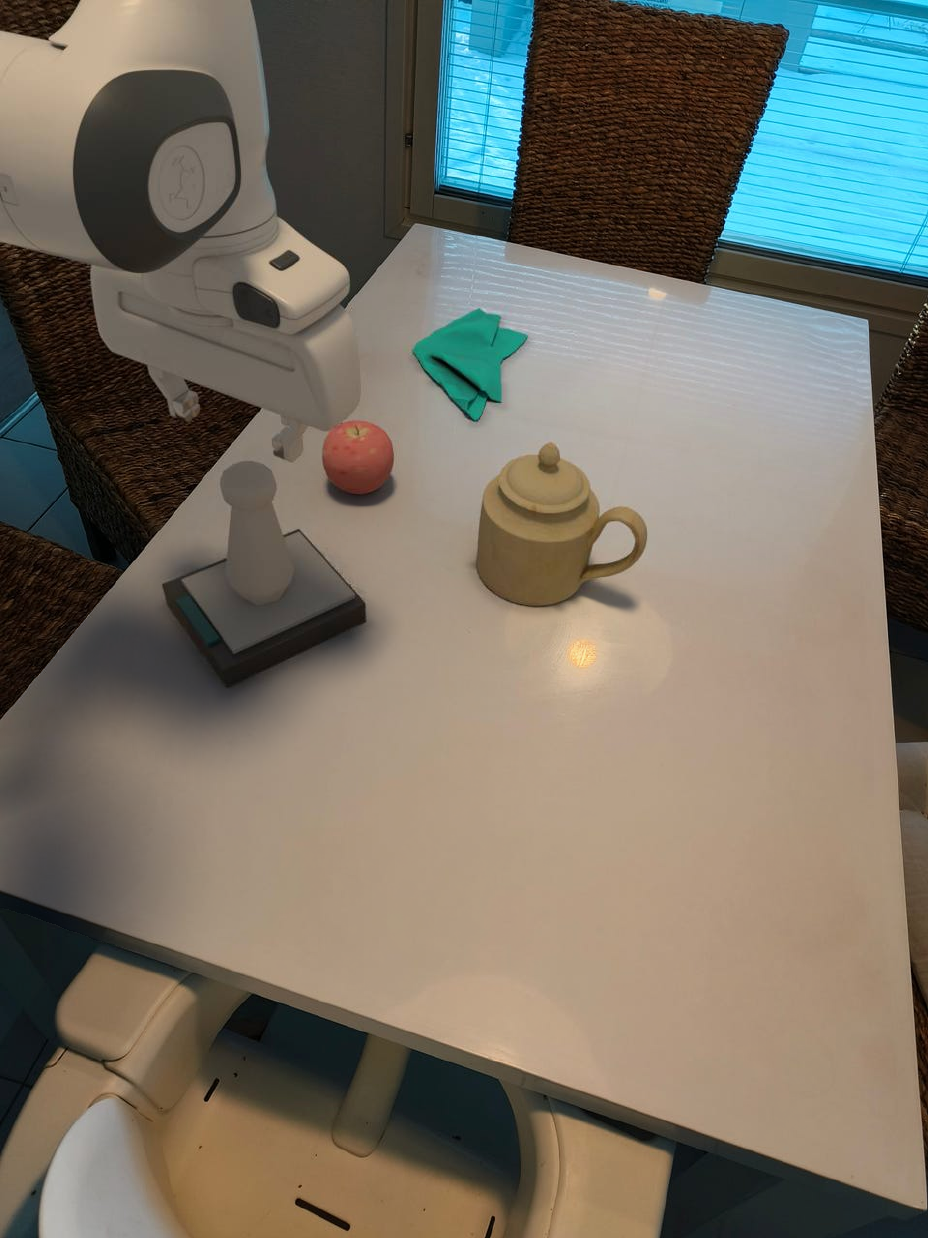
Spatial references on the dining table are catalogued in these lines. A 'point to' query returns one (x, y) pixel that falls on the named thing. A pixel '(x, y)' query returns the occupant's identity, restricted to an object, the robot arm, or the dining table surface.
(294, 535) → the scale
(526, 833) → the dining table surface
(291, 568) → the salt shaker
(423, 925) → the dining table surface
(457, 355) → the cloth
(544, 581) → the sugar bowl
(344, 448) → the apple
